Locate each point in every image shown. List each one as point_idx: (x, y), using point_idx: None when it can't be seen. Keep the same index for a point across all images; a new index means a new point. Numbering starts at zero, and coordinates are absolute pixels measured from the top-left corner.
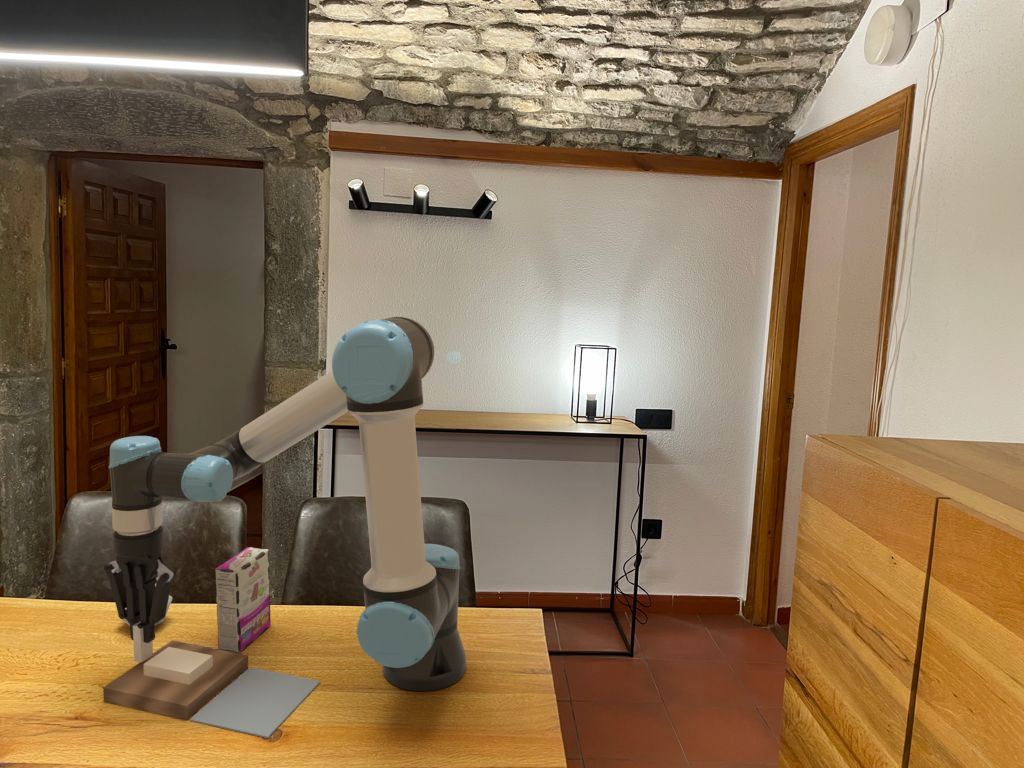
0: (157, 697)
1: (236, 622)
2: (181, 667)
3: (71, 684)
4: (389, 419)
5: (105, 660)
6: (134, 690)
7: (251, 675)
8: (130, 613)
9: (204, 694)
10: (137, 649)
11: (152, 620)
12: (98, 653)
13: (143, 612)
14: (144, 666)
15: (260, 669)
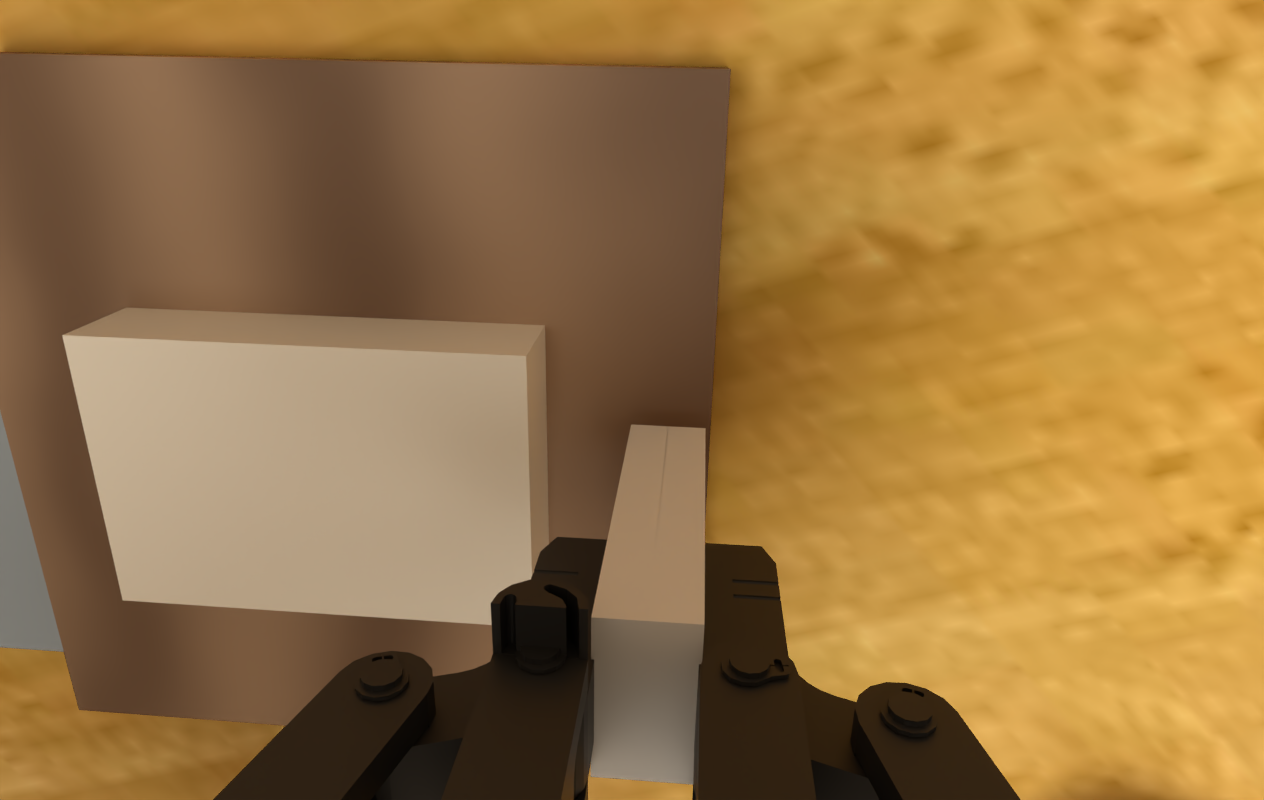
0: (197, 81)
1: None
2: (192, 397)
3: (1142, 192)
4: None
5: (1091, 520)
6: (445, 112)
7: (36, 582)
8: (749, 754)
9: None
10: (661, 476)
11: (358, 689)
12: (1203, 581)
13: (496, 780)
14: (519, 349)
15: (42, 646)
